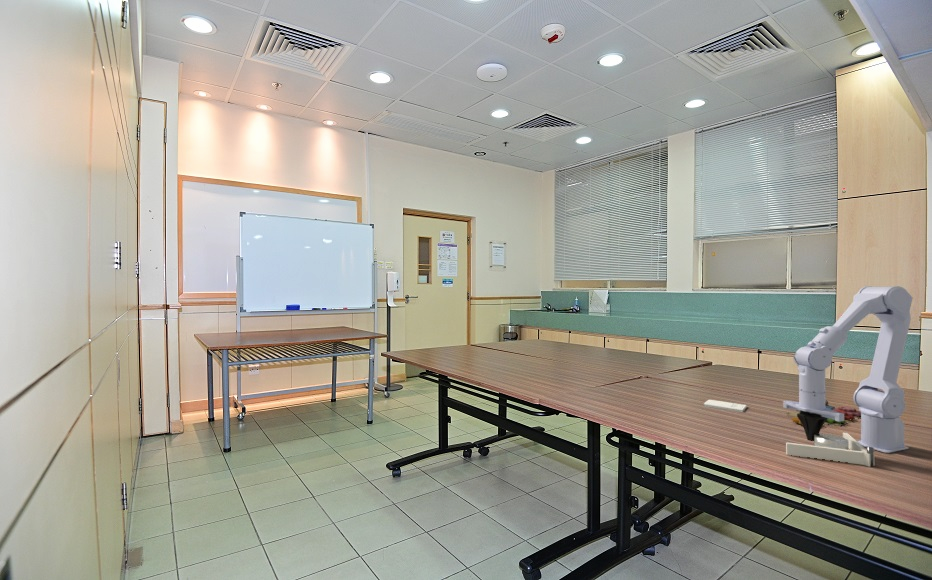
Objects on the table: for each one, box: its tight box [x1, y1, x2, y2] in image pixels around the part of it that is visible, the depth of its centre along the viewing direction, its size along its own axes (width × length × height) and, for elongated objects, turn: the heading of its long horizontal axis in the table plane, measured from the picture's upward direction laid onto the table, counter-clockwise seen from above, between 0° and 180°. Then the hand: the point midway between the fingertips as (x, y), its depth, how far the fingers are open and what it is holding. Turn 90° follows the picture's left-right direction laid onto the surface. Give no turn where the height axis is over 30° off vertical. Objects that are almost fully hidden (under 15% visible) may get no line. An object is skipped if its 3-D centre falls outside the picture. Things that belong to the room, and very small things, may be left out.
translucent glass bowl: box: [813, 433, 849, 450], centre depth 117 cm, size 7×7×4 cm
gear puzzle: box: [786, 399, 861, 427], centre depth 149 cm, size 31×16×4 cm, turn 122°
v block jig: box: [785, 432, 875, 468], centre depth 115 cm, size 24×13×4 cm, turn 109°
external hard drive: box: [703, 399, 748, 413], centre depth 163 cm, size 2×8×12 cm
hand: (812, 440), depth 122 cm, fingers closed
